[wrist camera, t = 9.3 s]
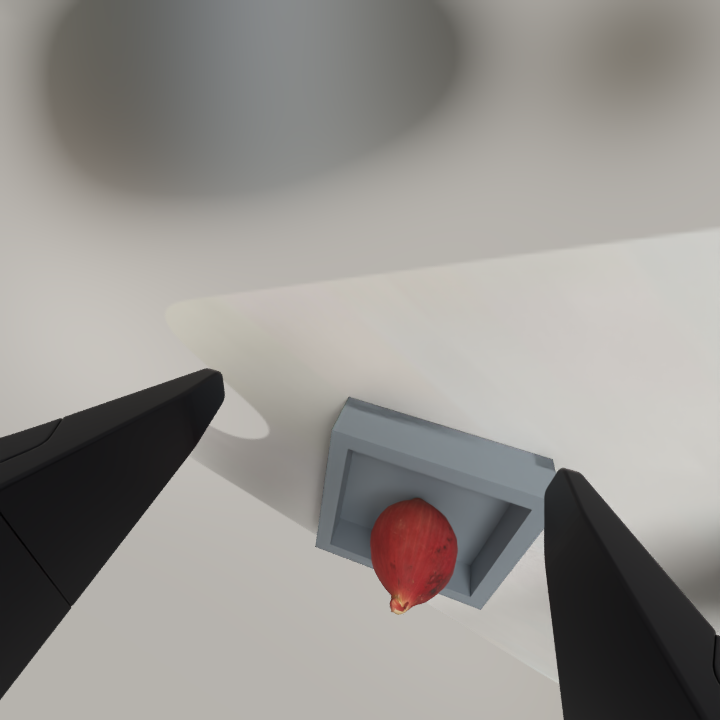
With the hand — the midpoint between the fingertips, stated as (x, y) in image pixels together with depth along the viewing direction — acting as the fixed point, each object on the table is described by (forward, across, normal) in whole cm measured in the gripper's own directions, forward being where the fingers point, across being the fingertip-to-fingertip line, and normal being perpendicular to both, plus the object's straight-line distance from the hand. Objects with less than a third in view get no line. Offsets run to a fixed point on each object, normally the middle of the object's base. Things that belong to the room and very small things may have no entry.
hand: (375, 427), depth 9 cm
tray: (+12, -3, +17) cm, 21 cm away
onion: (+11, -3, +17) cm, 21 cm away
